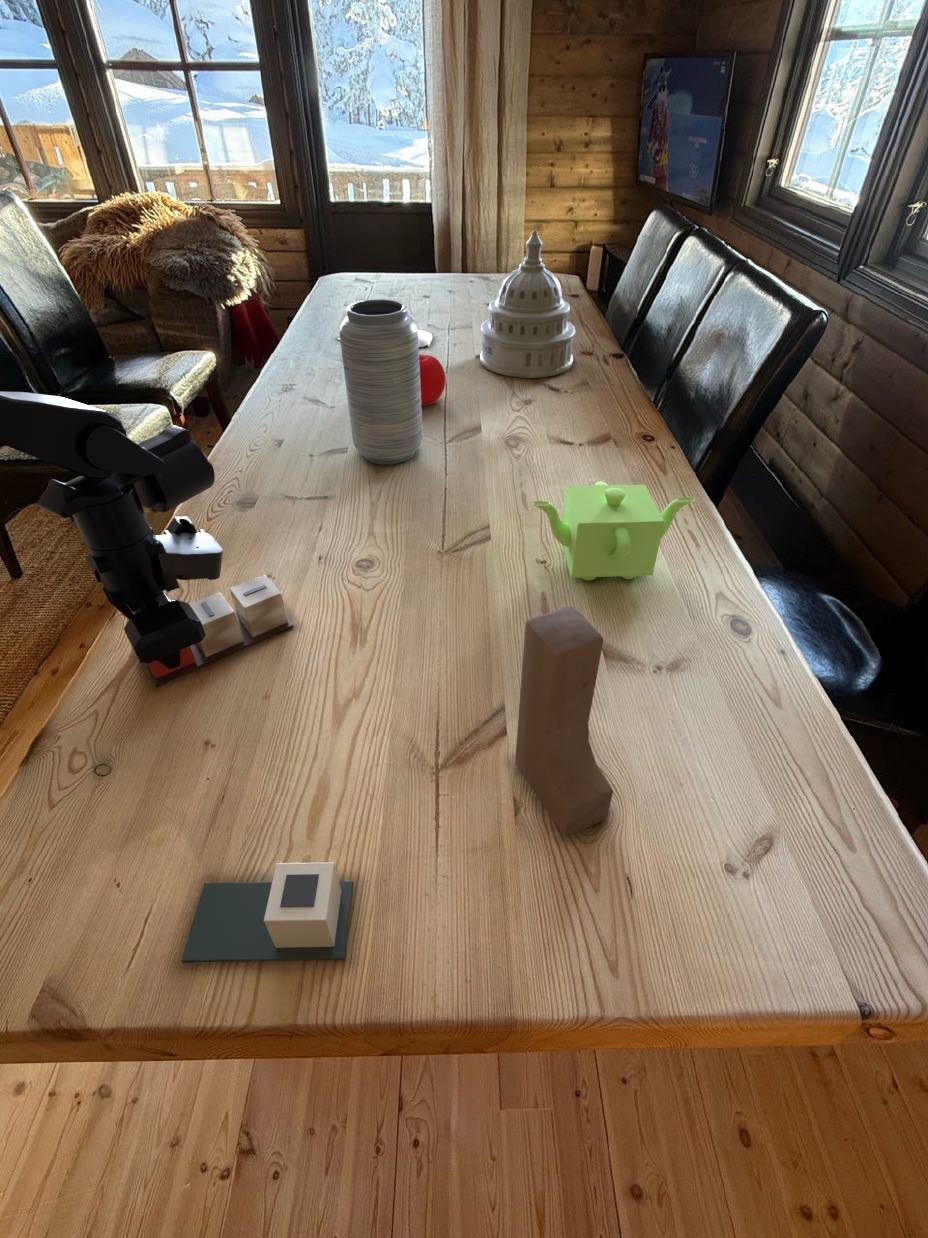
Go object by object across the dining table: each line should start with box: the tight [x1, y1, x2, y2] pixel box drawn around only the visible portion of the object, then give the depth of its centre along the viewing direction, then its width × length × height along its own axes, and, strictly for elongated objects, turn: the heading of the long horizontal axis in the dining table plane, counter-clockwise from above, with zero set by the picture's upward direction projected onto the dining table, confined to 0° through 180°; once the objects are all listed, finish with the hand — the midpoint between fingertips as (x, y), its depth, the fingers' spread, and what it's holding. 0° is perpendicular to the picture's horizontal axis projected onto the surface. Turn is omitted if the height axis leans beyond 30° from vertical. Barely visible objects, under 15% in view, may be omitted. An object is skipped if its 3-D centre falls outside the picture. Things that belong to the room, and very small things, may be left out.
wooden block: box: [514, 605, 614, 838], centre depth 54 cm, size 9×4×18 cm, turn 26°
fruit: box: [419, 354, 446, 407], centre depth 123 cm, size 9×9×10 cm
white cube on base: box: [180, 862, 354, 964], centre depth 49 cm, size 12×6×5 cm, turn 91°
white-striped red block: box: [147, 646, 196, 679], centre depth 71 cm, size 4×4×4 cm
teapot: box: [531, 481, 696, 581], centre depth 83 cm, size 15×13×11 cm
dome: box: [479, 229, 576, 379], centre depth 135 cm, size 20×25×20 cm
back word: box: [143, 574, 295, 688], centre depth 74 cm, size 16×6×5 cm, turn 127°
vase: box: [338, 298, 424, 466], centre depth 103 cm, size 12×12×23 cm
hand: (167, 653), depth 72 cm, fingers open, 5 cm apart
